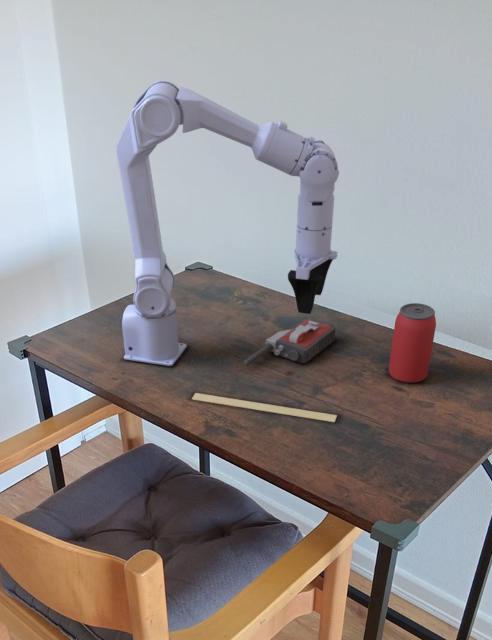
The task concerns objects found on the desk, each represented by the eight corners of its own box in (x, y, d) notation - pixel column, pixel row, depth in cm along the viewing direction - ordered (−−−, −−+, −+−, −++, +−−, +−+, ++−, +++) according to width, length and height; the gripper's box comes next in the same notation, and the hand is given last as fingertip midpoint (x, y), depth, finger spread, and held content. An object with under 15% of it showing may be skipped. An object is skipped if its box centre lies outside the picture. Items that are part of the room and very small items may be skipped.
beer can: (430, 369, 130) (442, 305, 123) (422, 388, 126) (433, 322, 118) (393, 362, 133) (402, 299, 125) (383, 380, 128) (392, 315, 121)
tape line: (191, 399, 125) (191, 398, 125) (195, 393, 126) (195, 392, 126) (334, 422, 118) (334, 421, 118) (337, 415, 120) (337, 415, 120)
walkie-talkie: (299, 326, 145) (239, 369, 132) (301, 304, 142) (239, 346, 129) (340, 338, 140) (282, 383, 128) (342, 316, 138) (282, 360, 125)
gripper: (329, 243, 115) (323, 324, 124) (347, 212, 126) (341, 288, 134) (284, 238, 117) (281, 318, 125) (306, 208, 128) (303, 284, 136)
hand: (310, 303), depth 130 cm, fingers open, 7 cm apart
